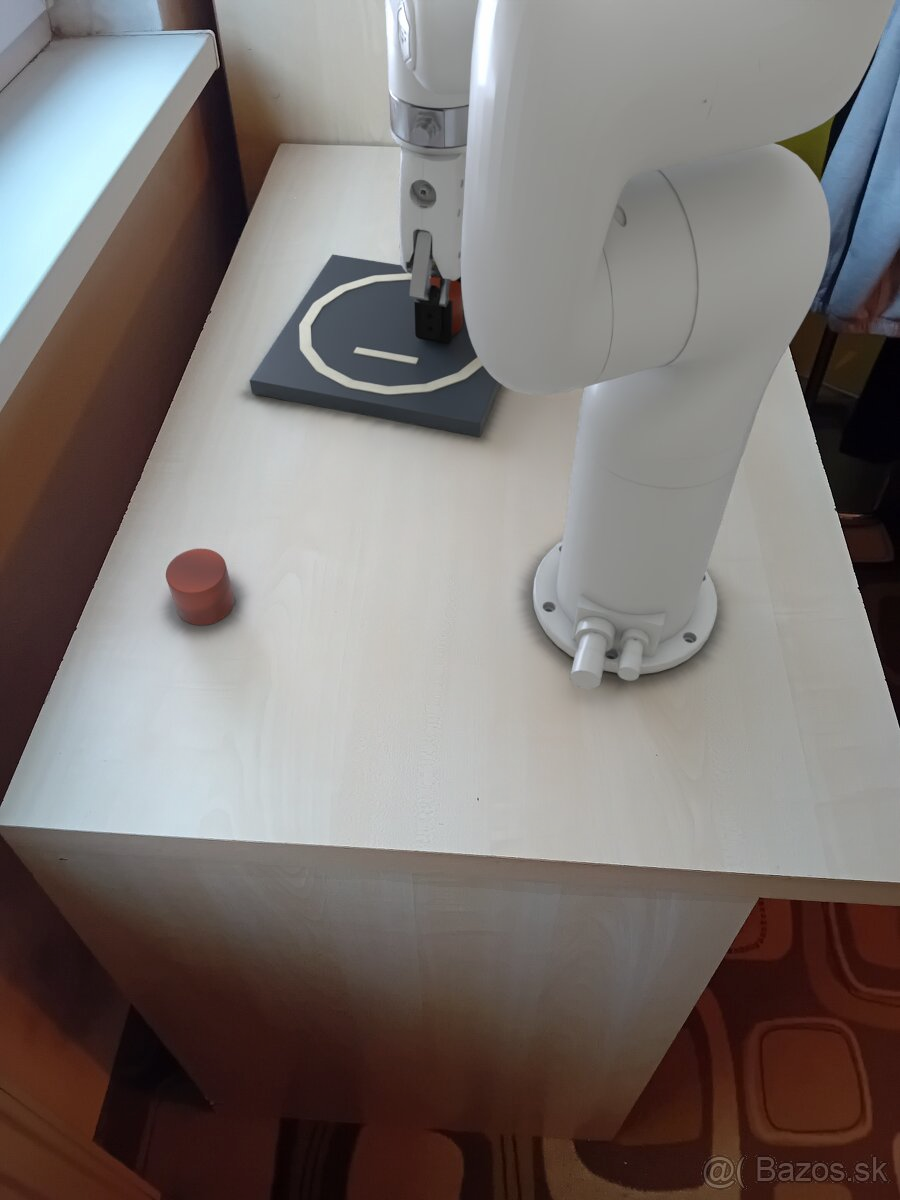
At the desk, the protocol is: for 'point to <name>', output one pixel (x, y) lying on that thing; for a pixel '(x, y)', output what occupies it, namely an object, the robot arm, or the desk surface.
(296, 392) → the face board
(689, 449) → the robot arm
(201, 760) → the desk surface
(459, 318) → the eye disc
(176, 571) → the eye disc
